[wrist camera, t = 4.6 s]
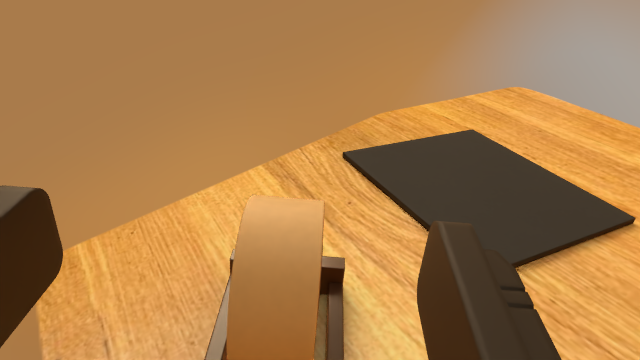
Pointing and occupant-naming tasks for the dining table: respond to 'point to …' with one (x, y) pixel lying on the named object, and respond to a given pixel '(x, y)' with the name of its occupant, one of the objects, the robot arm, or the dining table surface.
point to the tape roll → (276, 280)
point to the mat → (487, 194)
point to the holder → (334, 334)
